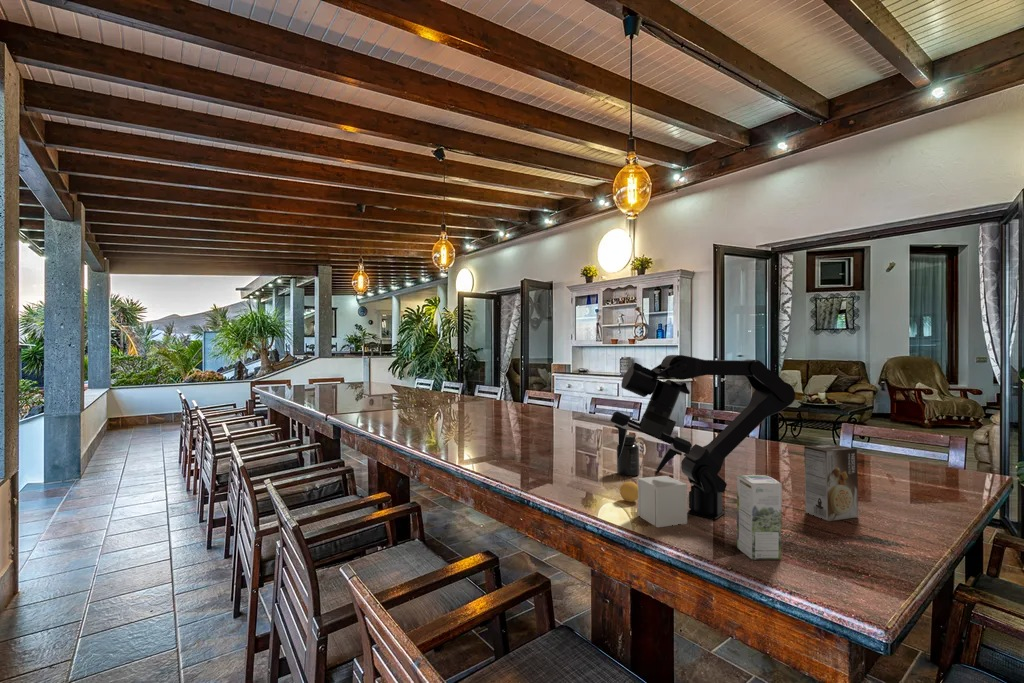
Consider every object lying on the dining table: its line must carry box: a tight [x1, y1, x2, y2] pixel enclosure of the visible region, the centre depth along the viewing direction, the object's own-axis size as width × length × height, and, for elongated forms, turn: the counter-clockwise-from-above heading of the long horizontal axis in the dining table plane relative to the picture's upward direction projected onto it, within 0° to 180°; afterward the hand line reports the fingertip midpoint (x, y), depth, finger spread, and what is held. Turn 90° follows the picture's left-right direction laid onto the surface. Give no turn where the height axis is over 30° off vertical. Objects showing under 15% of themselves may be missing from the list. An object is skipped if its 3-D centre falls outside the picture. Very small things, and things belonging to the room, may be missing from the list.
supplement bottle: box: [616, 434, 640, 477], centre depth 151 cm, size 7×7×12 cm
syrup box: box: [736, 474, 783, 561], centre depth 92 cm, size 6×6×14 cm
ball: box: [619, 481, 638, 503], centre depth 124 cm, size 5×5×5 cm
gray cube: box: [637, 475, 688, 528], centre depth 110 cm, size 8×8×9 cm
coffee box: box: [803, 443, 859, 522], centre depth 114 cm, size 9×6×16 cm
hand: (636, 465), depth 114 cm, fingers open, 9 cm apart
